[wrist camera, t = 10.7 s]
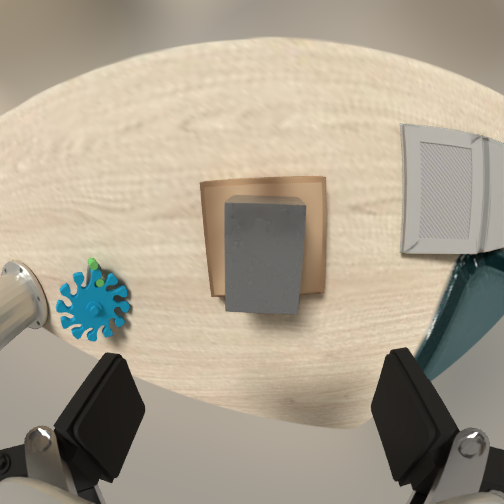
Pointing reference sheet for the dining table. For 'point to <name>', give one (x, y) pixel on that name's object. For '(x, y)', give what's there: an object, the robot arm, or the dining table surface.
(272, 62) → the dining table surface
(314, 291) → the stand
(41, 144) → the dining table surface
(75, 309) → the gear
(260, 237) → the grey rectangular block
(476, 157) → the grey folded flat piece
